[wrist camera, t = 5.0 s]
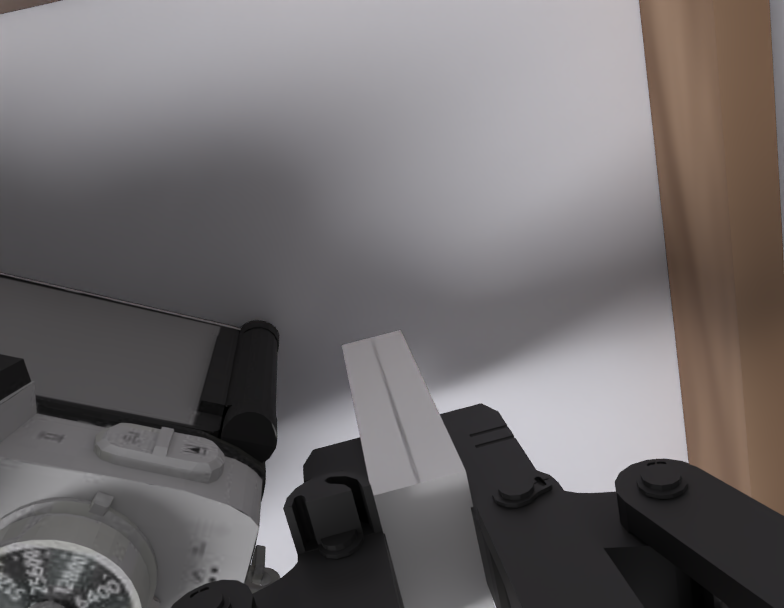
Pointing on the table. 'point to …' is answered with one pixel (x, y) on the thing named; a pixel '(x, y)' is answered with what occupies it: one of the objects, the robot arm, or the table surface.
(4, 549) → the camera
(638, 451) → the table surface
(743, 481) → the brown wooden u frame
